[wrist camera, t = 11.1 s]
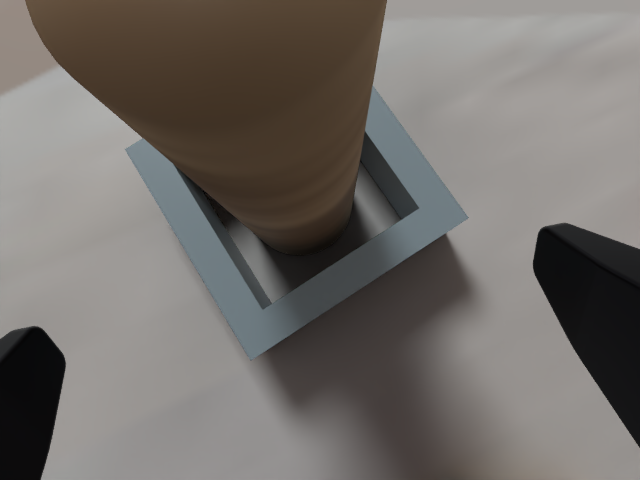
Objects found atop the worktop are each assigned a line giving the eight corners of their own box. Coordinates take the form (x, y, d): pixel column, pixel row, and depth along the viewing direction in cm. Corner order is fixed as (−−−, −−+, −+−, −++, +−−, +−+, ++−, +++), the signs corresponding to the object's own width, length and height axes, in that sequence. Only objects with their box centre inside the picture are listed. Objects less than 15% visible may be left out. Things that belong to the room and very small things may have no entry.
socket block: (445, 232, 17) (468, 218, 14) (265, 350, 17) (250, 360, 14) (329, 68, 19) (328, 24, 16) (159, 174, 18) (124, 149, 15)
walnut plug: (371, 188, 18) (466, -114, 5) (314, 275, 17) (253, 195, 4) (285, 135, 18) (165, -266, 5) (227, 219, 18) (-54, -1, 5)
